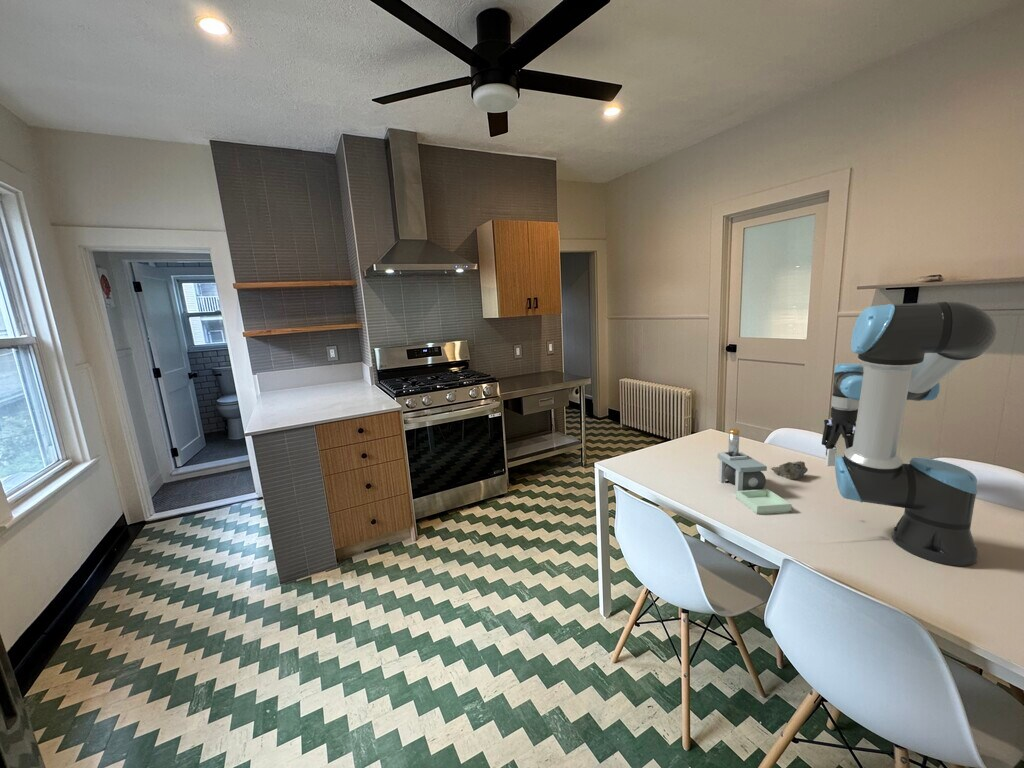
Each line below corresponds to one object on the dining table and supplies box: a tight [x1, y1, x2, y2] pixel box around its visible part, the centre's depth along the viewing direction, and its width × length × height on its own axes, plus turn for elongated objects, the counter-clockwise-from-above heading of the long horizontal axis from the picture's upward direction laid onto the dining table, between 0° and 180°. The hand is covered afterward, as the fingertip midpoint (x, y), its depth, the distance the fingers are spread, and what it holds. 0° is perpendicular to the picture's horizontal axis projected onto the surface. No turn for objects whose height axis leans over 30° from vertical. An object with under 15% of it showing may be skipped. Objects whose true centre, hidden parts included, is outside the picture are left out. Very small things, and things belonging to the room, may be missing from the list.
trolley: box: [717, 451, 768, 495], centre depth 138 cm, size 14×10×12 cm
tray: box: [735, 488, 792, 515], centre depth 125 cm, size 11×11×3 cm
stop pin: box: [727, 428, 741, 457], centre depth 139 cm, size 3×3×10 cm
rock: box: [770, 460, 809, 480], centre depth 143 cm, size 11×6×10 cm
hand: (839, 469), depth 139 cm, fingers open, 7 cm apart
